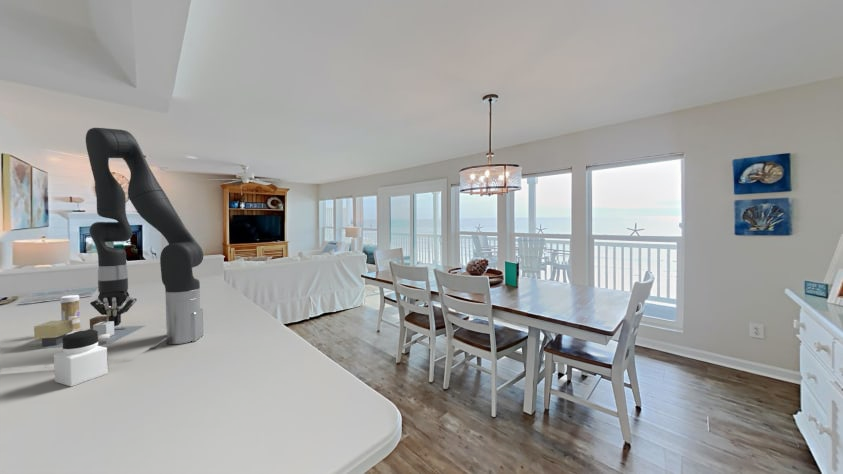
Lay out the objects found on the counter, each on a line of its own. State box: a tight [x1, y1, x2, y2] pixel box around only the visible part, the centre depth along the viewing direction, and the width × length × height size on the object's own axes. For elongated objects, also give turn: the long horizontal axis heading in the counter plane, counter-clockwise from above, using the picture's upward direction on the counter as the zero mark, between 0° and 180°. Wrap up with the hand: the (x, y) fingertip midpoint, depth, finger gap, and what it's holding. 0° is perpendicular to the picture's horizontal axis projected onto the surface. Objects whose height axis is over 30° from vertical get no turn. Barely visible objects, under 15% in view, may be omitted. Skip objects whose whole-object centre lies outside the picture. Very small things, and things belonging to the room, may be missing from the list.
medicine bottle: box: [53, 328, 109, 387], centre depth 78 cm, size 7×7×12 cm
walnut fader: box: [89, 315, 108, 330], centre depth 108 cm, size 4×4×5 cm
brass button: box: [33, 319, 74, 340], centre depth 97 cm, size 6×6×4 cm
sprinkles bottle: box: [59, 294, 81, 331], centre depth 110 cm, size 5×5×14 cm
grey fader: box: [93, 321, 115, 336], centre depth 102 cm, size 4×4×5 cm
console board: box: [30, 324, 147, 350], centre depth 103 cm, size 20×18×5 cm
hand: (114, 325), depth 110 cm, fingers closed
